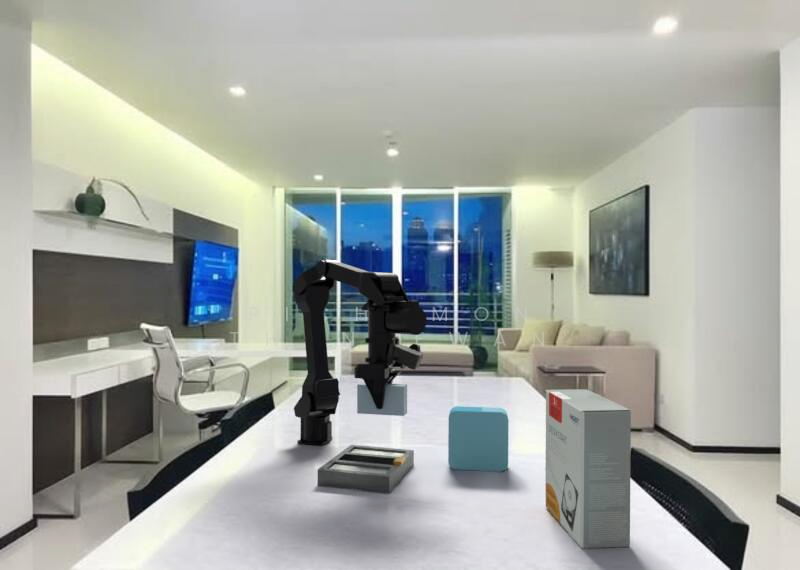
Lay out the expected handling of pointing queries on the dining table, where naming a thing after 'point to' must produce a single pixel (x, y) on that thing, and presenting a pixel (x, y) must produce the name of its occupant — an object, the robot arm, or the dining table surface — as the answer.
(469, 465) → the data package
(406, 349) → the robot arm
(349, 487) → the frame
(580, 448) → the hard drive box
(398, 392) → the block
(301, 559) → the dining table surface
